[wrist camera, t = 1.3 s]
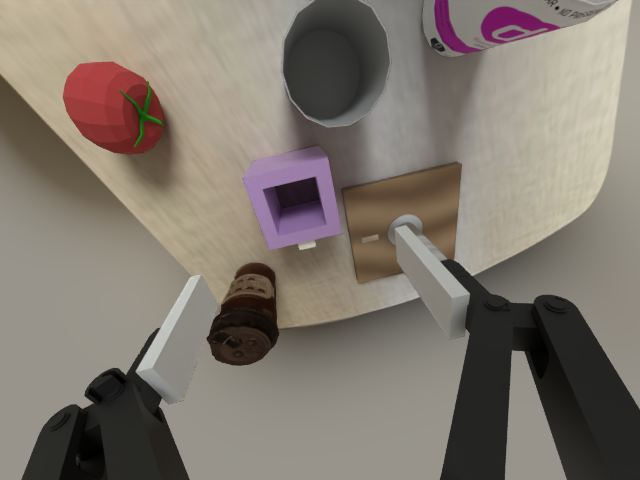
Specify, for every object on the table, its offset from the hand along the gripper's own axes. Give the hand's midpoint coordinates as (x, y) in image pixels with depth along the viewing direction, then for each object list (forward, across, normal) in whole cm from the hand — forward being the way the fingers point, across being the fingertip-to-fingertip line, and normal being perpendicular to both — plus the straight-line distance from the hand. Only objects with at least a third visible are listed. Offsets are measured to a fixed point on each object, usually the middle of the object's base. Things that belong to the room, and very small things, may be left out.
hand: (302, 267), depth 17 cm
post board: (+19, +14, -10) cm, 25 cm away
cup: (+19, +6, +11) cm, 23 cm away
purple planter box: (+19, 0, 0) cm, 19 cm away
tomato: (+19, -14, +12) cm, 27 cm away
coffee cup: (+19, -10, -13) cm, 25 cm away
